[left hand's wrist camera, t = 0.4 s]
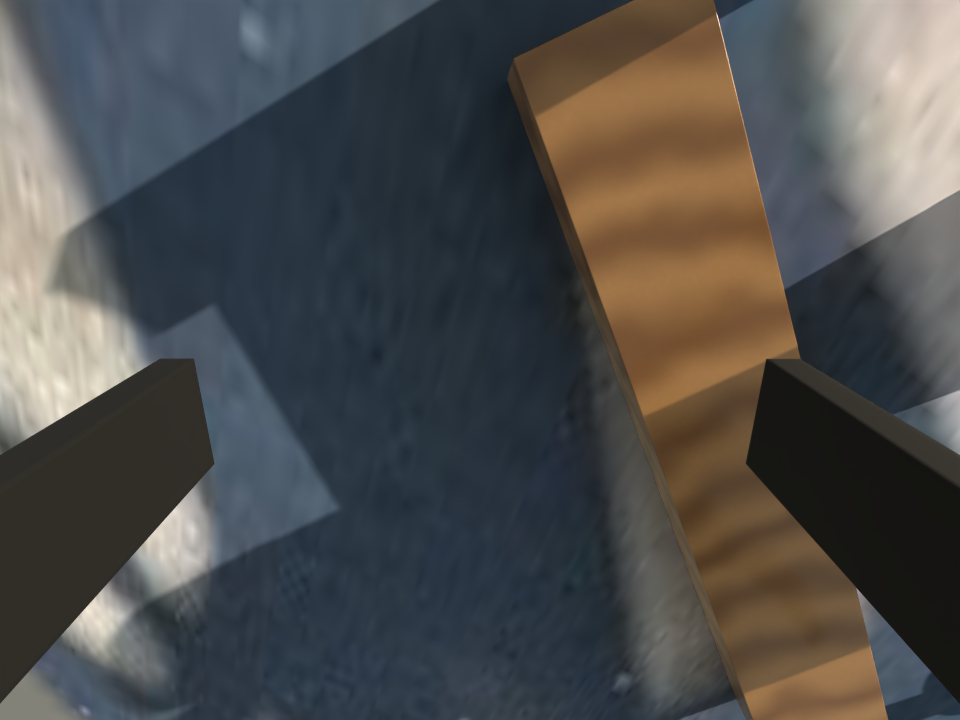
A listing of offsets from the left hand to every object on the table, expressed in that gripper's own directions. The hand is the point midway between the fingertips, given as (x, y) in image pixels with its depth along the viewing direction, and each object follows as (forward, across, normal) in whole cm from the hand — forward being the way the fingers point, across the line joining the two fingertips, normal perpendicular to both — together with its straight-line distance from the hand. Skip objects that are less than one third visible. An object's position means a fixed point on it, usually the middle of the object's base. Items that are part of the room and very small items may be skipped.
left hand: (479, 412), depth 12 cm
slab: (+25, +17, -13) cm, 33 cm away
